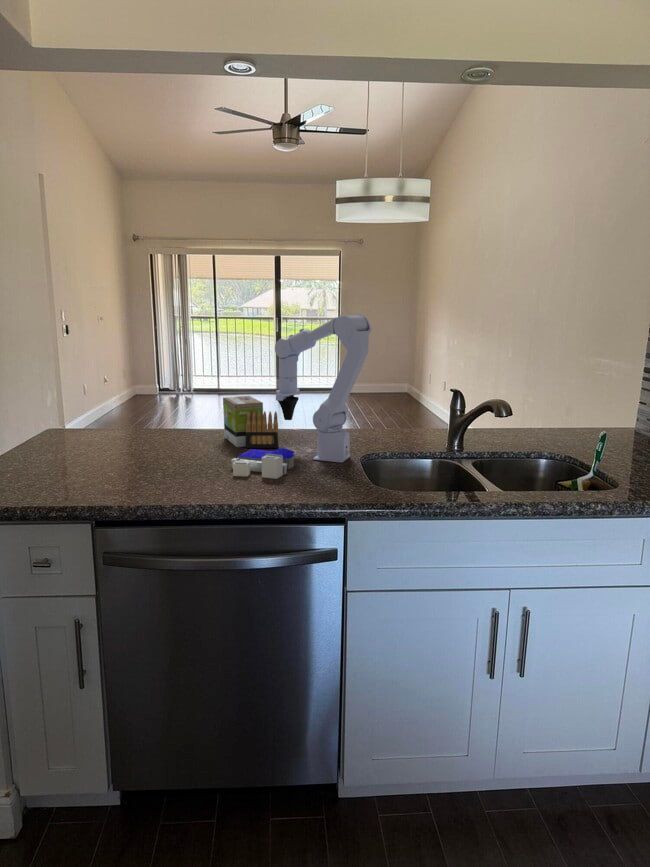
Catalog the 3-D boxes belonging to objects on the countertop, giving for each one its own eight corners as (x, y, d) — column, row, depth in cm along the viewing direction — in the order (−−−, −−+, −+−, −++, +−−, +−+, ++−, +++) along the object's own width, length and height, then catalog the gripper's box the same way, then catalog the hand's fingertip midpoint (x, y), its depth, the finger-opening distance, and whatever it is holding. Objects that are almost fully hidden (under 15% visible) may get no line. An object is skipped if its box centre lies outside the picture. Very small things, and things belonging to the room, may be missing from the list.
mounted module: (282, 474, 161) (282, 454, 159) (276, 478, 157) (276, 458, 156) (268, 473, 162) (268, 453, 161) (261, 477, 158) (261, 456, 157)
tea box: (223, 438, 205) (222, 396, 201) (250, 435, 209) (250, 395, 206) (235, 447, 191) (234, 403, 188) (264, 444, 195) (264, 401, 192)
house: (285, 473, 163) (285, 455, 162) (237, 468, 168) (236, 450, 167) (299, 464, 173) (299, 446, 172) (253, 459, 178) (253, 442, 177)
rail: (287, 473, 163) (286, 462, 162) (284, 474, 161) (284, 464, 160) (234, 467, 168) (234, 457, 168) (231, 468, 166) (231, 459, 166)
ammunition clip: (245, 447, 190) (245, 410, 189) (246, 447, 191) (246, 411, 191) (278, 447, 190) (278, 411, 190) (278, 447, 192) (278, 411, 192)
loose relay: (250, 473, 162) (249, 460, 161) (247, 476, 159) (247, 463, 158) (236, 473, 162) (235, 460, 162) (233, 476, 160) (232, 463, 159)
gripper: (285, 374, 191) (285, 414, 194) (266, 379, 178) (267, 422, 181) (305, 375, 189) (305, 416, 192) (287, 380, 176) (288, 424, 179)
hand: (288, 419), depth 186 cm, fingers closed
